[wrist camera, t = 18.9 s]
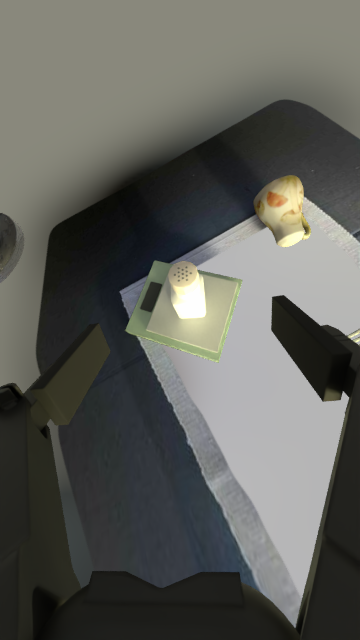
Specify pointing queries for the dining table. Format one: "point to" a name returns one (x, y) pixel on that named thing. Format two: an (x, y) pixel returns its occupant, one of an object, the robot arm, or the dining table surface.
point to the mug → (283, 210)
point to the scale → (189, 333)
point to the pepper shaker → (187, 290)
